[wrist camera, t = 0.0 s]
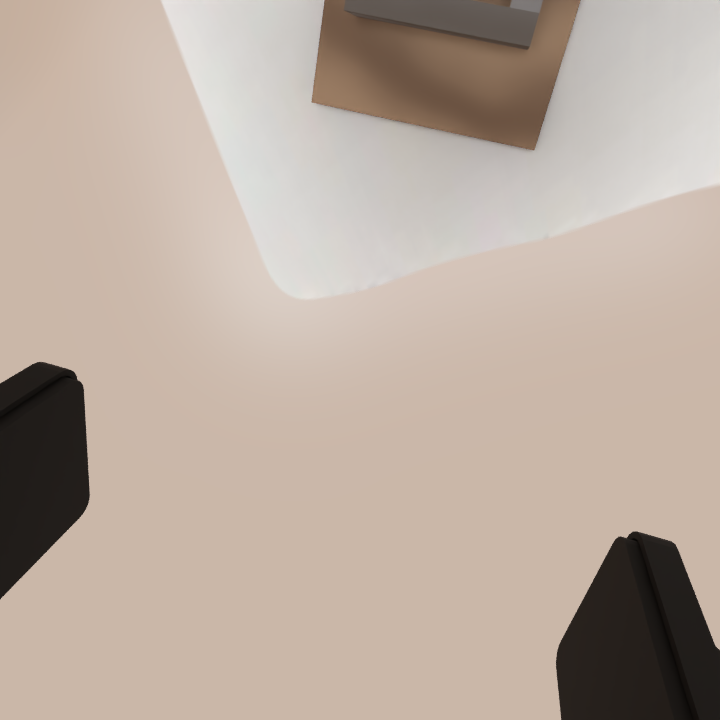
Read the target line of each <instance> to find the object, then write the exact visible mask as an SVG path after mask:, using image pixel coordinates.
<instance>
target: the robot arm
mask: <svg viewBox="0 0 720 720" xmlns="http://www.w3.org/2000/svg"><path fill="white" fill-rule="evenodd" d="M89 496H90V494H89V475H88V457H87V441H86V422H85V404H84V389H83V385H82V383H81V382H80V381H78V380H77V376H76V374H75V373H74V372H73V371H71V370H69V369H66V368H62V367H59V366H55V365H52V364H48V363H44V362H37V363H35V364H32V365H31V366H29V367H27V368H26V369H24V370H23V371H21V372H19V373H17V374H16V375H14V376H12V377H10V378H9V379H7V380H5V381H4V382H2V383H0V599H1V598H2V596H4V595H5V594H6V593H7V592H8V591H9V590H10V589H11V587H12V586H13V585H14V584H15V583H16V582H17V581H18V580H19V579H20V578H21V577H22V576H23V575H24V574H25V573H26V572H27V571H28V570H29V569H30V568H31V567H32V566H33V565H34V564H35V563H36V562H37V561H38V560H39V559H40V558H41V557H42V556H43V554H45V553H46V552H47V550H49V549H50V547H51V546H52V545H53V544H54V543H55V542H56V541H57V540H58V539H59V538H60V537H61V536H62V535H63V534H64V533H65V532H66V531H67V530H68V529H69V528H70V527H71V526H72V525H73V524H74V523H75V522H76V521H77V520H78V519H79V518H80V517H81V515H82V514H83V513H84V511H85V510H86V507H87V505H88V501H89ZM556 659H557V660H556V669H557V680H558V690H559V700H560V710H561V720H720V650H719V649H718V648H717V647H716V646H715V644H714V642H713V639H712V636H711V634H710V631H709V629H708V626H707V624H706V621H705V618H704V616H703V613H702V611H701V608H700V605H699V603H698V600H697V598H696V595H695V592H694V590H693V587H692V585H691V582H690V579H689V577H688V574H687V572H686V569H685V567H684V564H683V562H682V559H681V556H680V554H679V551H678V549H677V547H676V545H675V544H674V543H673V542H671V541H668V540H665V539H661V538H658V537H654V536H651V535H647V534H644V533H640V532H632V533H631V534H629V536H628V537H627V538H624V537H618V538H617V539H615V541H614V543H613V544H612V546H611V548H610V550H609V552H608V554H607V556H606V557H605V559H604V561H603V563H602V565H601V567H600V569H599V571H598V573H597V575H596V576H595V578H594V580H593V582H592V584H591V586H590V588H589V590H588V591H587V593H586V595H585V597H584V599H583V601H582V603H581V604H580V606H579V608H578V610H577V612H576V614H575V616H574V618H573V620H572V621H571V623H570V625H569V627H568V629H567V631H566V633H565V635H564V636H563V638H562V640H561V642H560V644H559V648H558V652H557V658H556Z"/></svg>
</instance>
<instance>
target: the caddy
mask: <svg viewBox="0 0 720 720" xmlns="http://www.w3.org/2000/svg"><path fill="white" fill-rule="evenodd" d="M579 4H580V0H325V2H324V10H323V18H322V25H321V33H320V41H319V49H318V57H317V64H316V72H315V80H314V88H313V95H312V102H313V103H317V104H322V105H327V106H331V107H336V108H341V109H345V110H350V111H354V112H359V113H364V114H368V115H373V116H378V117H382V118H387V119H391V120H396V121H401V122H405V123H410V124H415V125H419V126H424V127H428V128H433V129H438V130H442V131H447V132H452V133H456V134H461V135H465V136H470V137H475V138H479V139H484V140H489V141H493V142H498V143H502V144H507V145H512V146H516V147H521V148H526V149H530V150H535V146H536V143H537V140H538V137H539V133H540V130H541V127H542V124H543V120H544V117H545V114H546V111H547V107H548V104H549V101H550V98H551V94H552V91H553V88H554V85H555V81H556V78H557V75H558V72H559V68H560V65H561V62H562V59H563V56H564V52H565V49H566V46H567V43H568V39H569V36H570V33H571V30H572V26H573V23H574V20H575V17H576V13H577V10H578V7H579Z"/></svg>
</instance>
